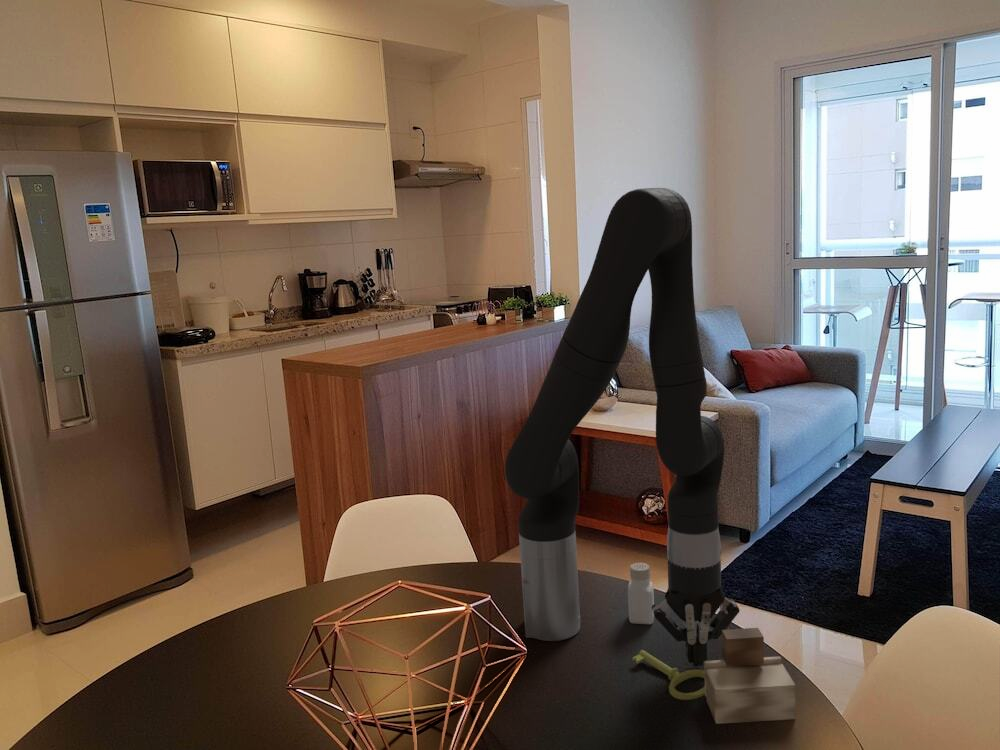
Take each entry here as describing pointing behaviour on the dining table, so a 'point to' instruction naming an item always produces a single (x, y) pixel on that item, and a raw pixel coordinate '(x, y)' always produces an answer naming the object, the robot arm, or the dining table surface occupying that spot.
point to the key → (673, 676)
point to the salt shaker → (640, 594)
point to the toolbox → (750, 693)
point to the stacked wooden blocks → (742, 650)
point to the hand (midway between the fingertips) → (696, 663)
